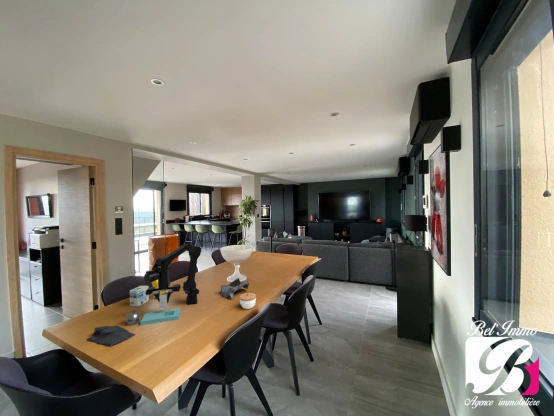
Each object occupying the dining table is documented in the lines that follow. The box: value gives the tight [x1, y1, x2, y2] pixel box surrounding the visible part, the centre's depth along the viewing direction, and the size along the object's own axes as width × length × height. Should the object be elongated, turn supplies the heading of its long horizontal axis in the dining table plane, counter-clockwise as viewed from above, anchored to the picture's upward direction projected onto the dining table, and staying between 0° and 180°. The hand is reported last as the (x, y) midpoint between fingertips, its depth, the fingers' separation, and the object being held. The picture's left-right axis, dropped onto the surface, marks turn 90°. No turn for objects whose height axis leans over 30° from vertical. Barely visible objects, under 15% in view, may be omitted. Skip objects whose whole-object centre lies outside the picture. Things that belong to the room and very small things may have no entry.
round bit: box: [125, 310, 141, 327], centre depth 131 cm, size 6×6×6 cm
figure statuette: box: [151, 280, 168, 299], centre depth 169 cm, size 18×8×22 cm, turn 62°
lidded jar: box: [239, 292, 257, 310], centre depth 148 cm, size 11×11×9 cm
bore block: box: [139, 307, 182, 326], centre depth 137 cm, size 20×11×2 cm, turn 106°
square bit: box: [159, 291, 169, 309], centre depth 140 cm, size 4×4×8 cm
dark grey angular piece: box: [220, 277, 250, 300], centre depth 173 cm, size 18×20×9 cm
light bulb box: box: [129, 285, 150, 307], centre depth 160 cm, size 11×7×11 cm, turn 168°
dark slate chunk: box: [85, 325, 136, 347], centre depth 118 cm, size 15×22×5 cm
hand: (164, 303), depth 140 cm, fingers closed on square bit, 4 cm apart
